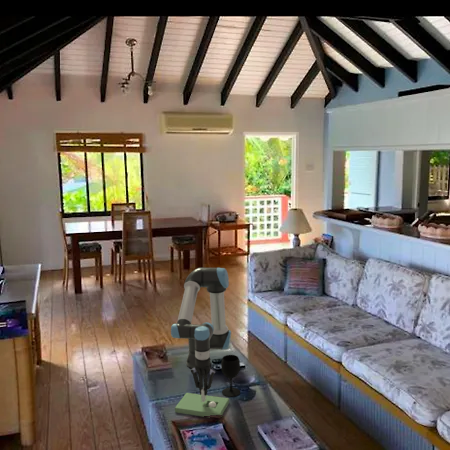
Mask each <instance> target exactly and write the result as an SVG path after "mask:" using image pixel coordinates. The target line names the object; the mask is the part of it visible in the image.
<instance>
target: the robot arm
mask: <svg viewBox="0 0 450 450" xmlns="http://www.w3.org/2000/svg"><path fill="white" fill-rule="evenodd" d="M229 278H230V277H229V274H228V270H227V269H226V268H225V267H197V268H195V269H194V270H192V271H191V272H190V273H189V274H188V275H187V277H186V279H185V280H184V284H183V289H184V291H183V295H182V296H183V297H182V298H181V299H182V300H181V305H180V308H179V313H178V317H177V322H176V323H173V324H172V325H171V326H170V328H171V329H170V335H171V337H172V338H174V339H178V340H179V339H187V340H188V354H187V357H186V361H185V363H186V366H187V367H188V368H191V369H190V373H191V374H192V378H193V381H194V385H195V388H198V389H199V394H200V395H201V400H202V402H205V400H206V395H207V396H208V390H210V389H211V387H212V384H213V380H214V376H215V373H216V370H214V369H212V366H211V350H228V349H229V348H230V345H231V340H232V339H231V338H232V331H231V330H230V329H229V327H228V325H226V321H227V320H226V307H225V306H226V305H225V292H226V291H227V288H229V285H230V281H229ZM201 288H206V291H207V293H209V299H210V300H209V303H210V317H211V318H210V319H211V323H210V322H207V321H206V322H203V323H202V324H198V323H197V324H193V323H192V321H193V317H194V313H195V306H196V301H197V297H198V292H200V291H201V290H200V289H201ZM208 374H209V379H208Z"/></svg>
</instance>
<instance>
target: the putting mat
mask: <svg viewBox="0 0 450 450" xmlns="http://www.w3.org/2000/svg"><path fill="white" fill-rule="evenodd" d="M211 401H214V402H215V403H216V408H212V407H209V403H210V402H211ZM229 404H230V397H227V398H226V397H221V396H215V395H213V396H212V395H208V394H207V395H206V400H205V402H202V400H201V395H200V393H199V394H198V393H191V392H186V393H185V394H184V395H183V397H182V398H181V399H180V401H179V402H178V403H177V404H176V406H175V407H174V413H178V414H183V415H190V416H191V415H192V416H197V417H204V416H210V415H222V416H223V415H224V413H225V411H226V409H227V408H228V405H229Z"/></svg>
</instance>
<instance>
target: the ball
mask: <svg viewBox="0 0 450 450" xmlns="http://www.w3.org/2000/svg"><path fill="white" fill-rule="evenodd" d="M209 407H212V408H216V403H215V402H214V401H211V402H210V403H209Z"/></svg>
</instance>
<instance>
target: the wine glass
mask: <svg viewBox="0 0 450 450" xmlns="http://www.w3.org/2000/svg"><path fill="white" fill-rule="evenodd" d="M220 367H221V368H220V369H221V372H222V374H223V376H224V377H225V378H227V379H229V387H225V388H224V389H222V390H221V394H222V395H223V396H224V397H225V398H226V397H227V398H235V397H238V396H240V395H241V390H240V389H239V388H237V387H234V386H233V379H234V378H236V377H237V376H238V375H239V373H240V371H241V362H240V358H239V356H238V355H235V354H226V355H224V356H223V357H222V359H221V364H220Z"/></svg>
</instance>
